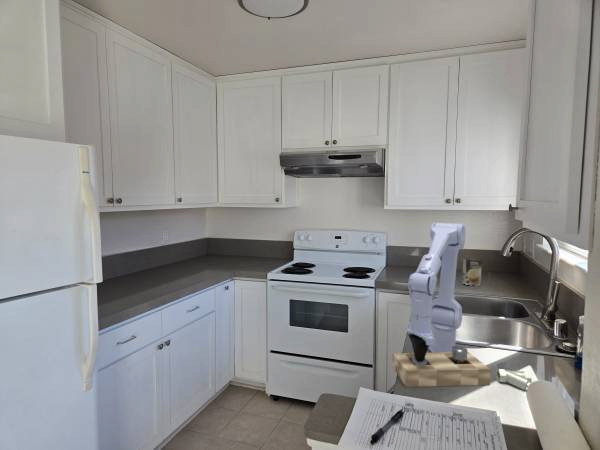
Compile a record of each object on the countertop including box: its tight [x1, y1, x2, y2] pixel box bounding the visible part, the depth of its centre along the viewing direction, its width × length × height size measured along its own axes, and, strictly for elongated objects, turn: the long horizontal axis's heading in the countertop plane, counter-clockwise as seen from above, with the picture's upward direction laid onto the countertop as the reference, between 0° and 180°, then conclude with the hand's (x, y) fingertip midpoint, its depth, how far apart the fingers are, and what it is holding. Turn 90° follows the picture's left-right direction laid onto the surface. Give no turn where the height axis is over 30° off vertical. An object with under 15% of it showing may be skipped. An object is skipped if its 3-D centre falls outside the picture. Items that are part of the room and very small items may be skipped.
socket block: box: [391, 351, 492, 388], centre depth 109 cm, size 12×24×4 cm, turn 94°
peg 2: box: [451, 345, 468, 364], centre depth 109 cm, size 4×4×4 cm
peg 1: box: [412, 357, 427, 365], centre depth 108 cm, size 4×4×4 cm
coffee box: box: [461, 258, 483, 286], centre depth 227 cm, size 9×6×16 cm
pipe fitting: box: [496, 368, 533, 392], centre depth 104 cm, size 8×4×7 cm
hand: (419, 360), depth 108 cm, fingers closed, pressing on peg 1
